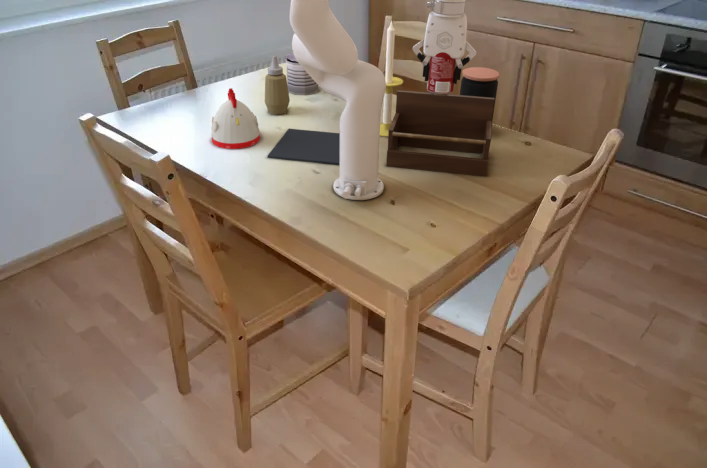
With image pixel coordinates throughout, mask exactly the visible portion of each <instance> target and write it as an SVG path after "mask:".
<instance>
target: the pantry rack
mask: <svg viewBox="0 0 707 468" xmlns="http://www.w3.org/2000/svg"><path fill="white" fill-rule="evenodd" d="M493 106H494V98H489V97H476V96H464V95H460V94H452V93H450V94H448V95H445V96H438V95H434V94H431V93H430V92H423V91H412V90H402V89H401V90H400V89H397V90H396V100H395V113H394V114H393V115H394V116H393V118H392V119H391V125H390V128H389V133H388V137H387V150H386V165H385V167H391V168H401V169H411V170H421V171H429V172H439V173H448V174H449V173H450V174H459V175H460V174H461V175H469V176H480V177H486V176H487V170H488V162H489V154H490V148H491V142H492V127H491V119H492V112H493ZM398 147H408V148H409V147H411V148H421V149H432V150H441V151H442V150H443V151H452V152H453V151H454V152H463V153H464V152H465V153H473V154H481V158H479V157H469V156H460V155H459V156H458V155H450V154H440V153H439V154H438V153H427V152H418V151H407V150H397V149H398Z"/></svg>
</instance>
